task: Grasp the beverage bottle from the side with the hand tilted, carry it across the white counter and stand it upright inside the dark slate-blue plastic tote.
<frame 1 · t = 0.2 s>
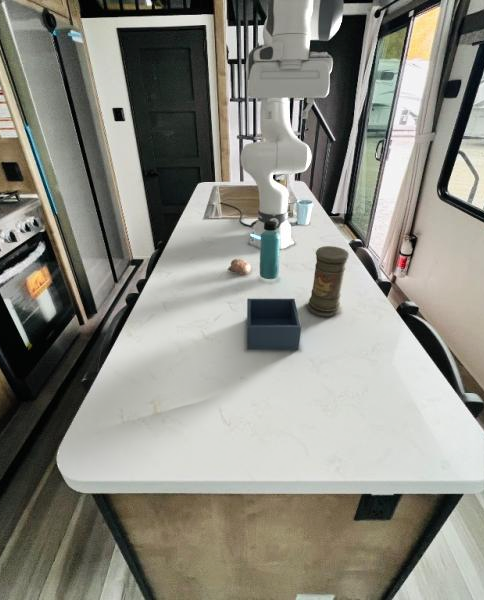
hand: (286, 118, 84), 48 cm above the countertop, tool pointing down, fingers open, 8 cm apart
beverage bottle: (268, 279, 109), on the countertop
tote: (271, 333, 84), on the countertop
container: (323, 309, 94), on the countertop
beige lumpy piece: (239, 272, 113), on the countertop
cup: (302, 223, 157), on the countertop
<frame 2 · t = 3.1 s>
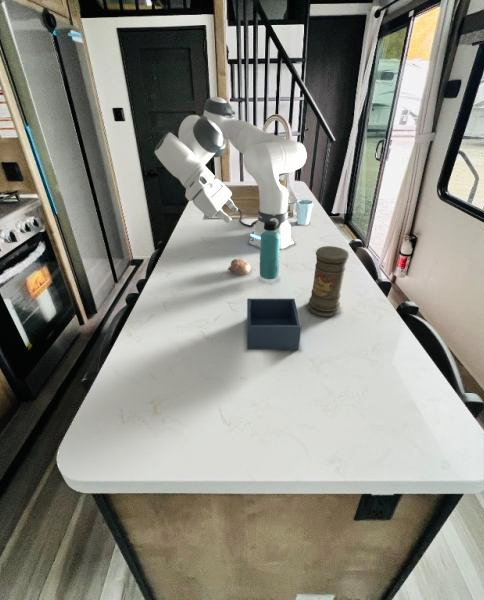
hand: (233, 216, 100), 21 cm above the countertop, tool tilted 45°, fingers open, 8 cm apart
nothing on the countertop moved.
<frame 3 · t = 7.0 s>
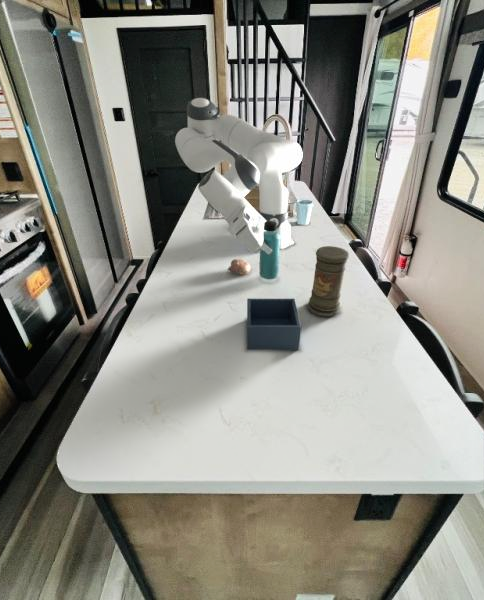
hand: (271, 248, 103), 11 cm above the countertop, tool tilted 45°, fingers closed on beverage bottle, 5 cm apart
beverage bottle: (268, 279, 109), on the countertop, touching gripper
everything else where it was.
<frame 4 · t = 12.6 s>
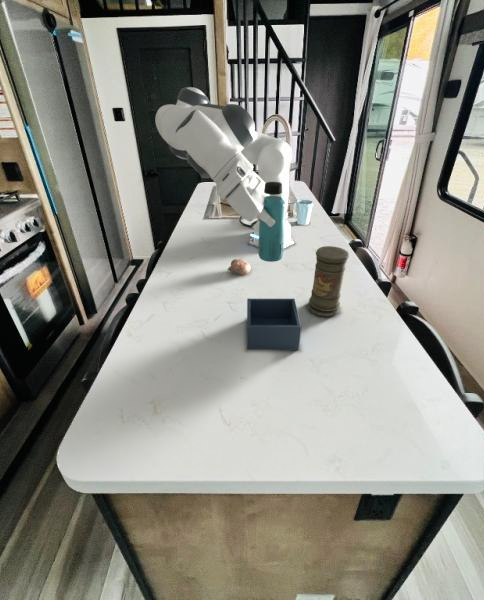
hand: (275, 219, 77), 27 cm above the countertop, tool tilted 45°, fingers closed on beverage bottle, 5 cm apart
beverage bottle: (270, 262, 84), point 16 cm above the countertop, touching gripper
everything else where it was.
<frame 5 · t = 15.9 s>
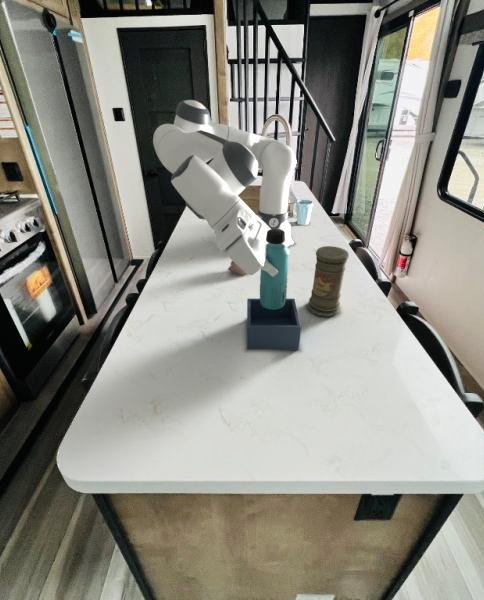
hand: (277, 266, 73), 20 cm above the countertop, tool tilted 45°, fingers closed on beverage bottle, 5 cm apart
beverage bottle: (271, 307, 79), point 8 cm above the countertop, touching gripper
everything else where it was.
when the fingers open (12 cm above the countertop, at t = 18.4 s): beverage bottle stays where it is, resting on tote.
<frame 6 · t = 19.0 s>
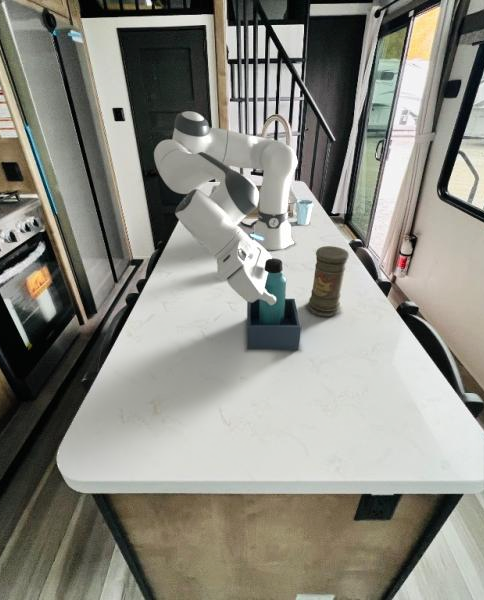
hand: (276, 291, 77), 13 cm above the countertop, tool tilted 45°, fingers open, 8 cm apart
beverage bottle: (270, 331, 83), point 1 cm above the countertop, touching tote
everything else where it was.
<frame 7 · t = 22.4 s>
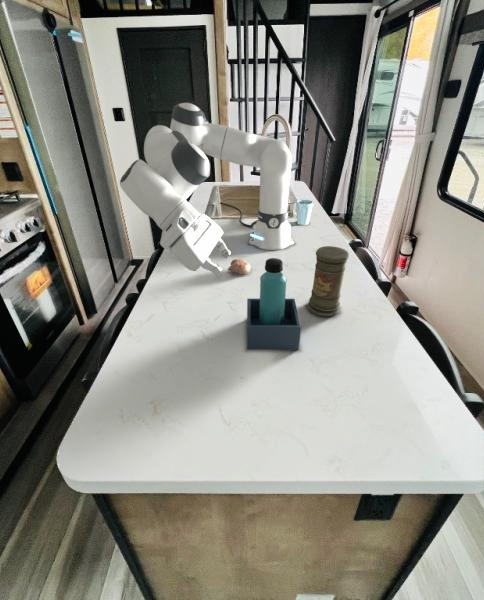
hand: (224, 263, 78), 18 cm above the countertop, tool tilted 45°, fingers open, 8 cm apart
nothing on the countertop moved.
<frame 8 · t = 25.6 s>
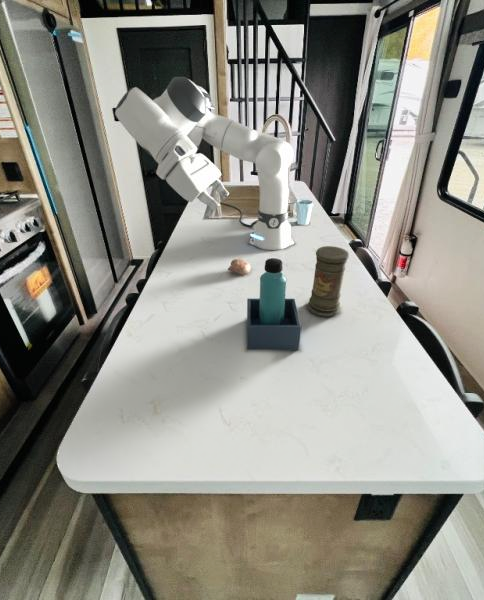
hand: (222, 202, 76), 31 cm above the countertop, tool tilted 45°, fingers open, 8 cm apart
nothing on the countertop moved.
at the end: beverage bottle inside the target area in the tote (0.1 cm from its centre), point 0.8 cm above the tote's base; beverage bottle tilted 0° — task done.
